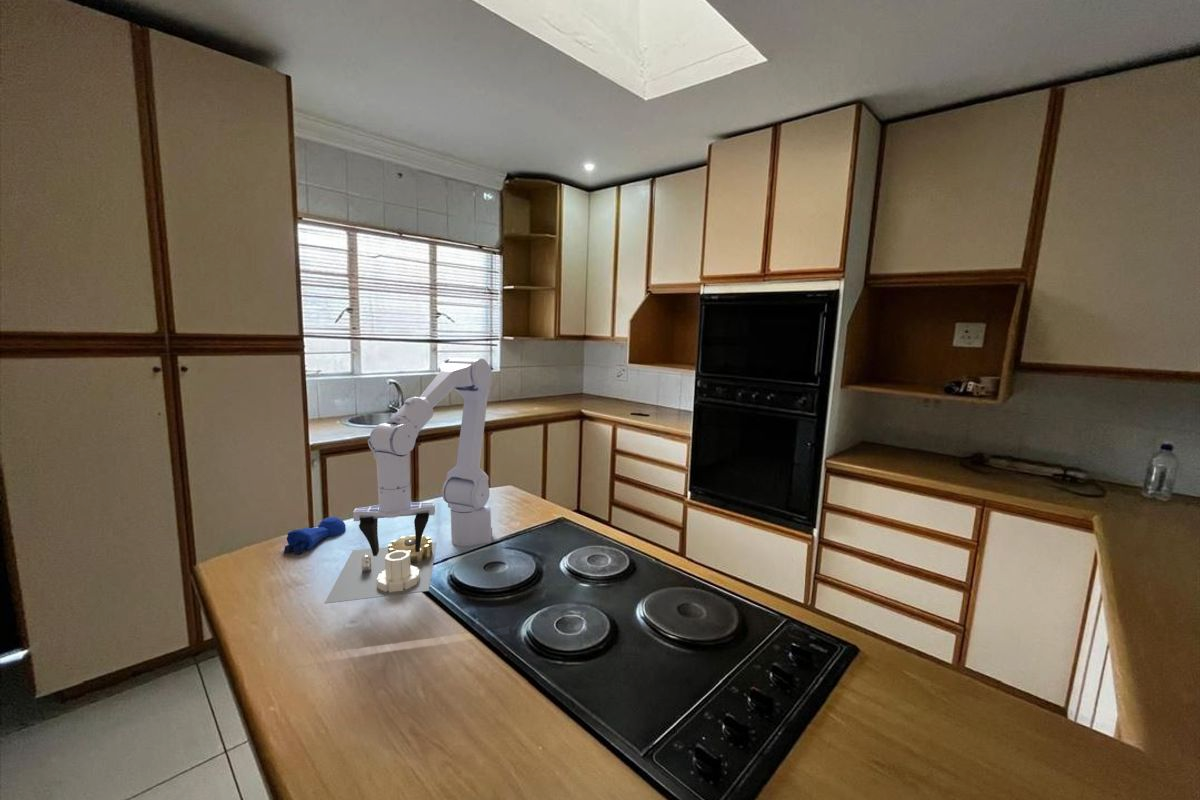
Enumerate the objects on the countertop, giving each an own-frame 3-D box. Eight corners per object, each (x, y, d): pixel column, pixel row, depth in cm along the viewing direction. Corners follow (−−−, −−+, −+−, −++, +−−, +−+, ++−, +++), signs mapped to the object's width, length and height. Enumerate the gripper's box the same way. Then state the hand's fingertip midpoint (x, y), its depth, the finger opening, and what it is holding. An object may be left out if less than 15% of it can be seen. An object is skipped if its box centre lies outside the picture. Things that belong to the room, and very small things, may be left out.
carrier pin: (372, 568, 101) (371, 553, 100) (370, 572, 99) (369, 557, 99) (362, 569, 100) (362, 554, 100) (361, 573, 99) (360, 558, 98)
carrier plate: (436, 545, 114) (436, 542, 114) (428, 594, 93) (428, 590, 93) (352, 553, 109) (352, 550, 109) (324, 607, 88) (324, 603, 88)
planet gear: (421, 570, 100) (420, 545, 100) (417, 588, 93) (416, 562, 92) (381, 574, 99) (380, 548, 98) (374, 593, 91) (372, 566, 90)
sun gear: (433, 545, 112) (433, 530, 112) (430, 563, 103) (430, 547, 103) (392, 549, 110) (391, 534, 109) (385, 567, 101) (384, 551, 101)
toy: (305, 562, 106) (353, 532, 121) (302, 536, 105) (351, 509, 120) (279, 558, 108) (329, 529, 122) (276, 533, 107) (327, 506, 121)
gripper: (347, 494, 87) (351, 565, 89) (432, 489, 91) (434, 556, 93) (356, 482, 94) (360, 548, 96) (434, 478, 98) (437, 541, 100)
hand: (397, 551), depth 95 cm, fingers open, 7 cm apart
